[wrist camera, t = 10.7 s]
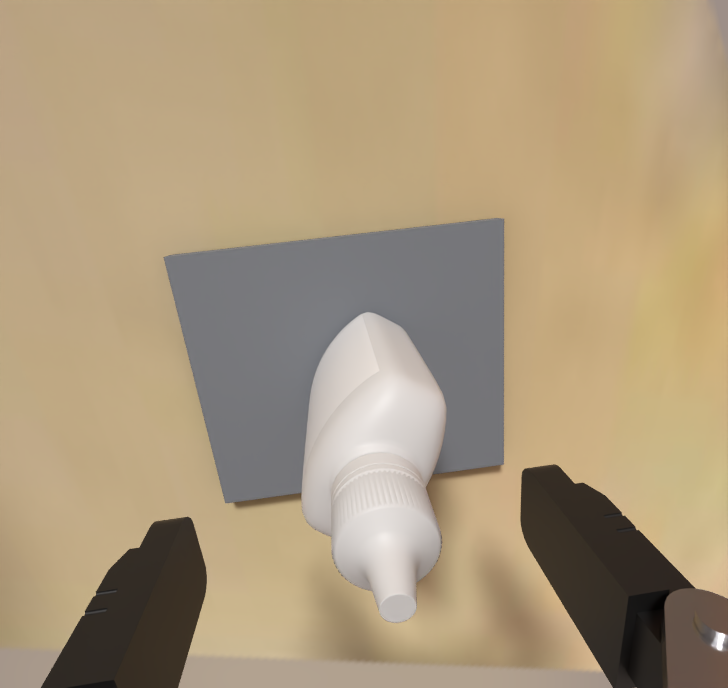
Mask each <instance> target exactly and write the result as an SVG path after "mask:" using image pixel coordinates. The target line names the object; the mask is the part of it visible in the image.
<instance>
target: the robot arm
mask: <svg viewBox="0 0 728 688" xmlns="http://www.w3.org/2000/svg"><path fill="white" fill-rule="evenodd" d="M521 527H522V532H523V535H524V538H525V541H526V543H527V545H528V547H529V549H530V551H531V552H532V554H533V556H534V557H535V559H536V561H537V562H538V564H539V566H540V567H541V569H542V571H543V572H544V574H545V576H546V577H547V579H548V580H549V582H550V584H551V585H552V587H553V589H554V590H555V592H556V594H557V595H558V597H559V599H560V600H561V602H562V604H563V605H564V607H565V609H566V610H567V612H568V614H569V615H570V617H571V619H572V620H573V622H574V624H575V625H576V627H577V629H578V630H579V632H580V634H581V635H582V637H583V638H584V640H585V642H586V643H587V645H588V647H589V648H590V650H591V652H592V653H593V655H594V657H595V658H596V660H597V662H598V663H599V665H600V667H601V668H602V670H603V672H604V673H605V675H606V677H607V678H608V680H609V682H610V683H611V685H612V687H613V688H635V687H637V688H728V599H727V598H725V597H723V596H720V595H718V594H715V593H712V592H709V591H705V590H701V589H696V588H695V587H694V586H693V585H692V584H691V583H690V582H689V581H688V580H687V579H686V578H685V577H684V576H683V575H682V574H681V573H680V572H679V571H678V570H677V569H676V568H675V567H674V566H673V565H672V564H671V563H670V562H669V561H668V560H667V559H666V558H665V557H664V556H663V555H662V554H661V553H660V551H659V550H658V549H657V548H656V547H655V546H654V545H653V544H652V543H651V542H650V541H649V540H648V539H647V538H646V537H645V536H644V535H643V534H642V533H641V532H640V531H639V530H636V528H635V526H634V525H633V524H632V523H631V522H630V521H629V520H628V519H627V518H626V516H622V513H621V511H620V510H619V509H618V508H617V507H616V506H615V505H614V504H613V503H612V502H611V501H610V500H609V499H608V498H607V497H606V496H605V495H603V494H602V493H600V492H598V491H596V490H595V489H593V488H591V487H590V486H588V485H586V484H585V483H578V484H574V483H573V481H572V480H571V479H570V478H569V477H568V476H567V475H566V474H565V473H564V471H563V470H562V469H561V468H560V467H559V466H557V465H547V466H540V467H533V468H527V469H524V470H523V472H522V483H521ZM206 584H207V574H206V567H205V563H204V559H203V556H202V552H201V549H200V545H199V542H198V538H197V535H196V531H195V528H194V524H193V522H192V520H191V518H189V517H183V518H177V519H170V520H163V521H156V522H154V523H153V524H152V525H151V527H150V528H149V530H148V532H147V534H146V536H145V538H144V540H143V542H142V544H141V546H140V548H134V549H129V550H128V551H127V552H126V553H125V554H124V555H123V556H122V557H121V558H120V559H119V560H118V561H117V562H116V563H115V564H114V565H113V566H112V567H111V568H110V569H109V570H108V572H107V574H106V576H105V577H104V579H103V581H102V583H101V584H100V586H99V588H98V590H97V591H96V596H94V597H93V598H92V600H91V602H90V603H89V605H88V607H87V609H86V610H85V616H82V617H81V619H80V621H79V622H78V624H77V626H76V628H75V629H74V631H73V633H72V635H71V636H70V638H69V640H68V642H67V643H66V645H65V647H64V648H63V650H62V652H61V654H60V655H59V657H58V659H57V661H56V663H55V664H54V666H53V668H52V669H51V671H50V673H49V675H48V676H47V678H46V680H45V681H44V683H43V685H42V687H41V688H178V686H179V682H180V679H181V675H182V672H183V669H184V665H185V662H186V659H187V655H188V652H189V648H190V645H191V642H192V638H193V635H194V631H195V628H196V625H197V621H198V618H199V614H200V611H201V608H202V604H203V601H204V597H205V593H206Z"/></svg>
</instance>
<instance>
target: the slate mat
mask: <svg viewBox="0 0 728 688" xmlns="http://www.w3.org/2000/svg"><path fill="white" fill-rule="evenodd" d="M164 260H165V264H166V268H167V272H168V276H169V280H170V284H171V288H172V292H173V296H174V300H175V304H176V308H177V312H178V316H179V320H180V324H181V328H182V332H183V336H184V340H185V344H186V348H187V352H188V356H189V360H190V364H191V368H192V372H193V376H194V380H195V384H196V388H197V392H198V396H199V400H200V404H201V408H202V412H203V416H204V420H205V424H206V428H207V432H208V436H209V440H210V444H211V448H212V452H213V456H214V460H215V464H216V468H217V472H218V476H219V480H220V484H221V488H222V492H223V496H224V500H225V503H232V502H239V501H247V500H254V499H261V498H268V497H275V496H282V495H289V494H297V493H302V479H303V465H304V454H305V443H306V432H307V422H308V411H309V401H310V393H311V387H312V383H313V379H314V376H315V373H316V370H317V367H318V365H319V362H320V360H321V358H322V356H323V355H324V353H325V351H326V350H327V348H328V346H329V345H330V344H331V342H332V341H333V340H334V338H335V337H336V336H337V335H338V334H339V333H340V331H341V330H342V329H343V328H344V327H345V326H347V325H348V324H349V323H350V322H351V321H352V320H353V319H355V318H356V317H357V316H359V315H360V314H363V313H366V312H370V313H375V314H377V315H380V316H382V317H384V318H386V319H387V320H389V321H391V322H393V323H395V324H397V325H399V326H401V327H402V328H403V329H404V330H405V331H406V333H407V334H408V336H409V337H410V339H411V341H412V342H413V344H414V346H415V347H416V349H417V350H418V352H419V354H420V355H421V357H422V359H423V360H424V362H425V364H426V365H427V367H428V369H429V370H430V372H431V374H432V375H433V377H434V378H435V380H436V382H437V384H438V386H439V388H440V390H441V391H442V393H443V396H444V400H445V404H446V425H445V432H444V438H443V443H442V447H441V451H440V455H439V458H438V461H437V464H436V467H435V469H434V471H433V474H439V473H446V472H454V471H461V470H468V469H475V468H482V467H489V466H496V465H503V464H504V219H501V218H494V219H485V220H476V221H468V222H459V223H450V224H441V225H432V226H423V227H414V228H406V229H397V230H388V231H379V232H370V233H361V234H352V235H344V236H335V237H326V238H317V239H308V240H299V241H290V242H282V243H273V244H264V245H255V246H246V247H237V248H228V249H220V250H211V251H202V252H193V253H184V254H175V255H169V256H166V257H164Z"/></svg>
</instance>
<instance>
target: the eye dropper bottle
mask: <svg viewBox="0 0 728 688" xmlns="http://www.w3.org/2000/svg"><path fill="white" fill-rule="evenodd" d="M445 425H446V404H445V400H444V396H443V393H442V391H441V390H440V388H439V386H438V384H437V382H436V380H435V378H434V377H433V375H432V374H431V372H430V370H429V369H428V367H427V365H426V364H425V362H424V360H423V359H422V357H421V355H420V354H419V352H418V350H417V349H416V347H415V346H414V344H413V342H412V341H411V339H410V337H409V336H408V334H407V333H406V331H405V330H404V329H403V328H402V327H401V326H399V325H397V324H395V323H393V322H391V321H389V320H387V319H386V318H384V317H382V316H380V315H377V314H375V313H370V312H366V313H363V314H360V315H359V316H357V317H356V318H355V319H353V320H352V321H351V322H350V323H349V324H348V325H347V326H345V327H344V328H343V329H342V330H341V331H340V333H339V334H338V335H337V336H336V337H335V338H334V340H333V341H332V342H331V344H330V345H329V346H328V348H327V350H326V351H325V353H324V355H323V356H322V358H321V360H320V362H319V365H318V367H317V370H316V373H315V376H314V379H313V383H312V387H311V393H310V401H309V411H308V422H307V432H306V443H305V454H304V465H303V479H302V495H301V498H302V512H303V515H304V517H305V519H306V522H307V523H308V524H309V525H310V526H311V527H313V528H314V529H315V530H317V531H319V532H321V533H323V534H325V535H328V536H330V537H331V540H332V557H333V560H334V564H335V565H336V568H337V569H338V572H340V573H341V575H342V576H343V577H345V579H346V580H348V581H349V582H350V583H352V584H353V585H355V586H358V587H360V588H362V589H365V590H369V591H372V592H373V595H374V598H375V601H376V604H377V607H378V610H379V612H380V615H381V617H382V618H383V619H385V620H386V621H388V622H392V623H399V622H403V621H406V620H408V619H410V618H411V617H412V616H413V615H414V613H415V612H416V608H417V599H416V583H417V582H418V581H420V580H421V579H422V578H423V577H425V576H426V575H427V574H428V573H429V572H430V571H431V570H432V568H433V567H434V566H435V564H436V562H437V561H438V558H439V556H440V555H439V554H440V553H441V548H442V545H441V544H442V540H441V539H442V536H441V531H440V528H439V525H438V522H437V519H436V516H435V514H434V511H433V508H432V505H431V502H430V499H429V496H428V493H427V490H426V486H427V484H428V482H429V480H430V478H431V476H432V474H433V471H434V469H435V467H436V464H437V461H438V458H439V455H440V451H441V447H442V443H443V438H444V432H445Z"/></svg>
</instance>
